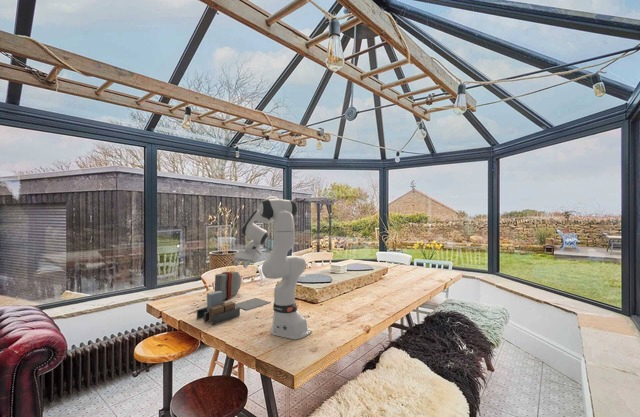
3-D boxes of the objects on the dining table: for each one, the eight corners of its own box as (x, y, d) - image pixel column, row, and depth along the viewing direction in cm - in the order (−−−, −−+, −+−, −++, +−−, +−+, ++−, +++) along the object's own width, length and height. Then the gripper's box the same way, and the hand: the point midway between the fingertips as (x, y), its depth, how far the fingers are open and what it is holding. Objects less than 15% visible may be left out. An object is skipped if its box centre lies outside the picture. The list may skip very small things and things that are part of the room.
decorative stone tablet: (222, 274, 200) (242, 269, 229) (213, 274, 201) (235, 269, 230) (221, 303, 198) (241, 294, 227) (212, 302, 199) (233, 294, 229)
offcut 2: (235, 315, 177) (235, 302, 177) (225, 319, 172) (225, 305, 172) (231, 314, 180) (231, 301, 180) (221, 317, 174) (221, 304, 174)
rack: (239, 316, 177) (239, 307, 177) (213, 325, 163) (213, 316, 163) (223, 310, 188) (223, 302, 188) (196, 318, 173) (196, 309, 173)
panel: (222, 314, 179) (222, 291, 180) (210, 318, 173) (210, 294, 173) (218, 313, 182) (218, 290, 182) (207, 316, 176) (207, 293, 176)
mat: (270, 302, 203) (270, 302, 203) (247, 310, 187) (247, 309, 187) (255, 298, 212) (255, 297, 212) (232, 305, 197) (232, 304, 197)
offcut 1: (223, 319, 171) (223, 306, 171) (212, 323, 166) (212, 309, 166) (219, 318, 174) (219, 304, 174) (208, 321, 168) (209, 307, 168)
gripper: (239, 245, 204) (227, 261, 196) (258, 247, 192) (246, 265, 184) (244, 251, 208) (232, 267, 200) (263, 253, 195) (252, 271, 187)
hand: (239, 266), depth 192 cm, fingers open, 8 cm apart
